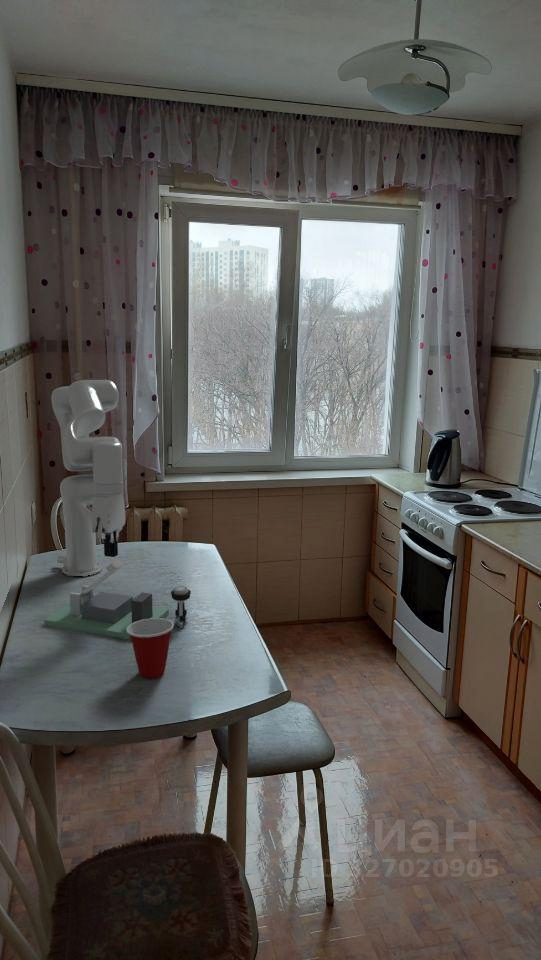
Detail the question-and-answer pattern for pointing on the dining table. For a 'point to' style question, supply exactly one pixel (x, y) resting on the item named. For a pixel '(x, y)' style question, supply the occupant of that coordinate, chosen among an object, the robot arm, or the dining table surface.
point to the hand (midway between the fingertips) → (111, 555)
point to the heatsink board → (94, 625)
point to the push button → (180, 604)
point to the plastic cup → (151, 645)
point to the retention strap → (111, 570)
